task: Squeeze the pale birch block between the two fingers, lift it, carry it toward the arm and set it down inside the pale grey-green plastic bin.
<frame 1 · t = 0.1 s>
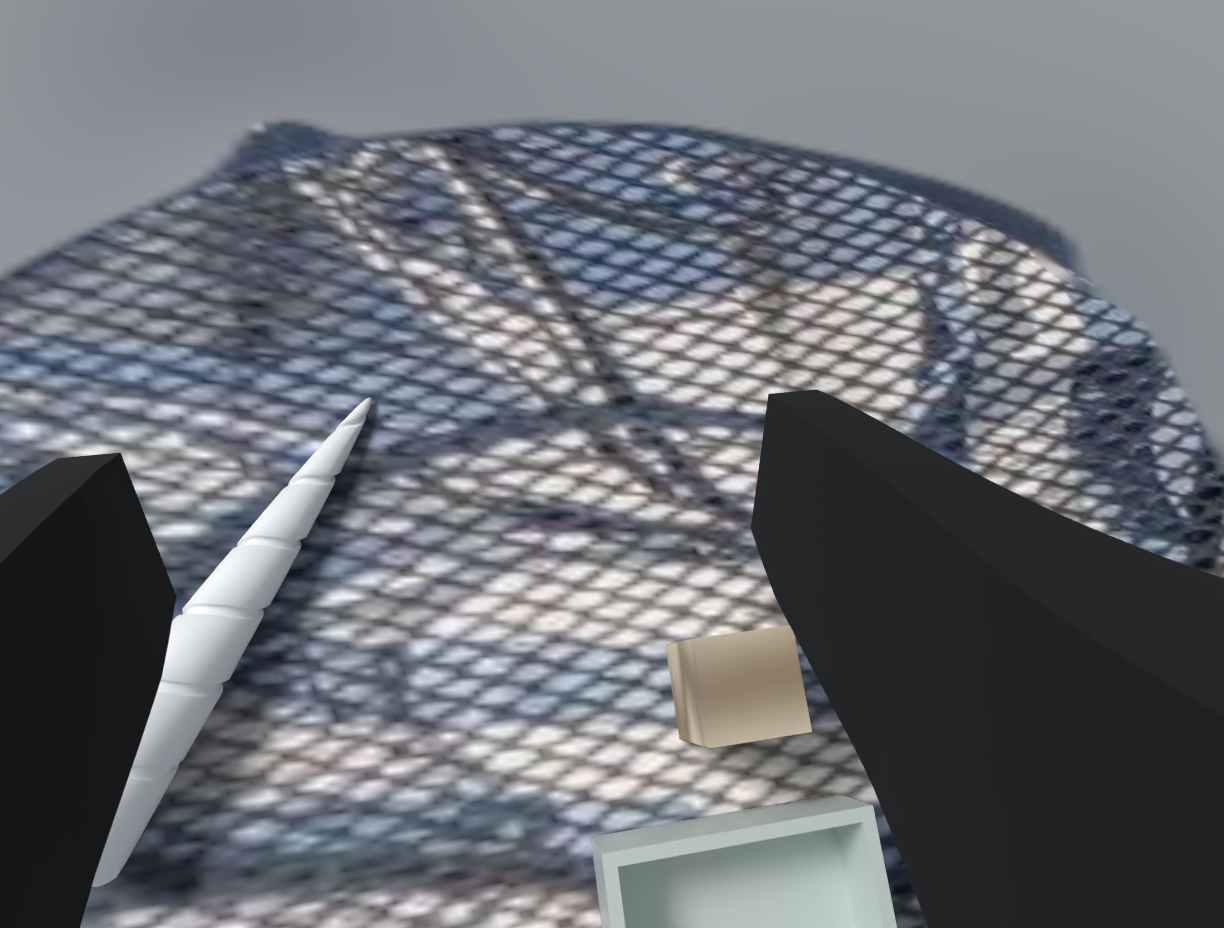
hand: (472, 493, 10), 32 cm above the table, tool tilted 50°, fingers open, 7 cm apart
birch block: (716, 684, 41), on the table
unicorn horn: (223, 622, 39), on the table
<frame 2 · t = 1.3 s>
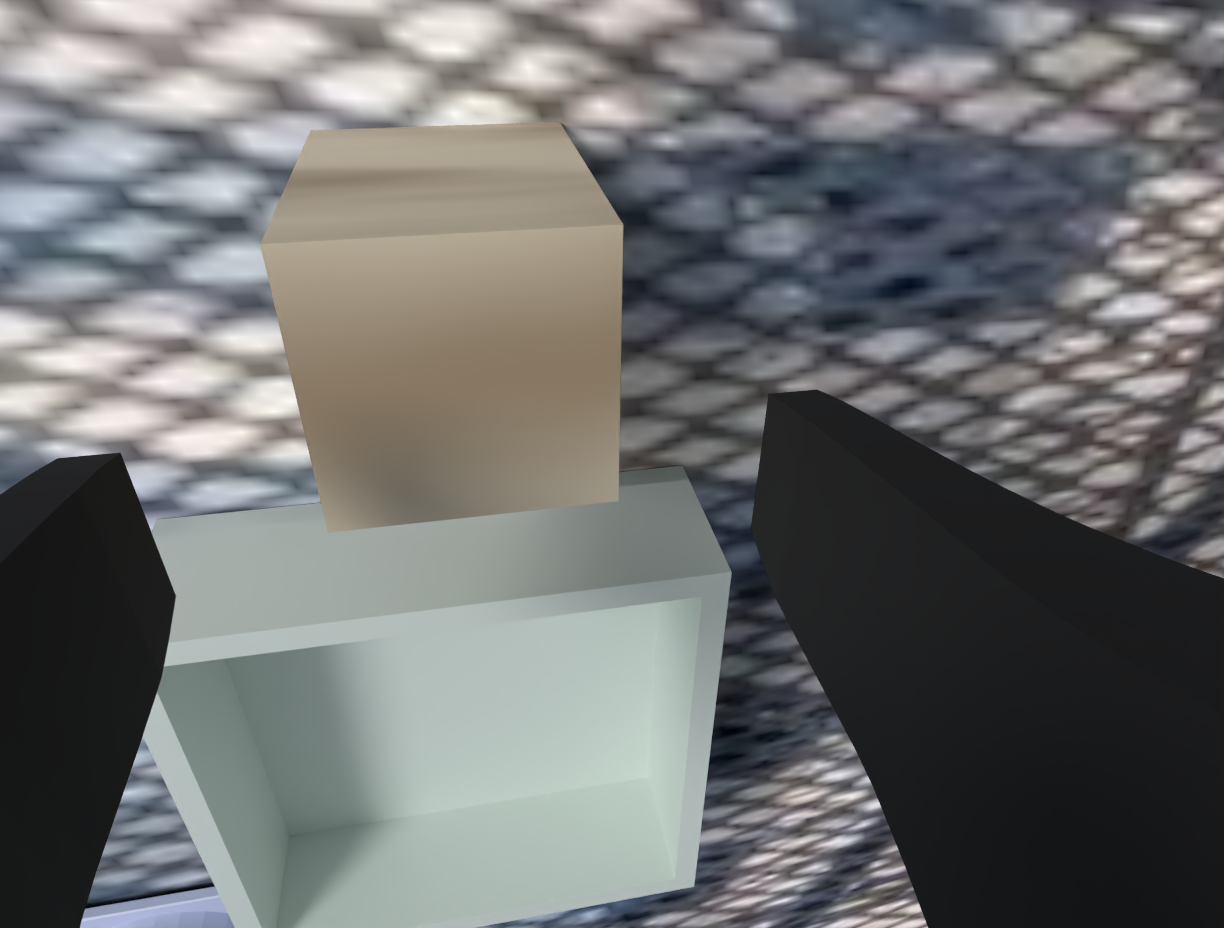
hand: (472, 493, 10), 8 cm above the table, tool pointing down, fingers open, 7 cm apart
birch block: (450, 244, 17), on the table
bin: (457, 668, 23), on the table
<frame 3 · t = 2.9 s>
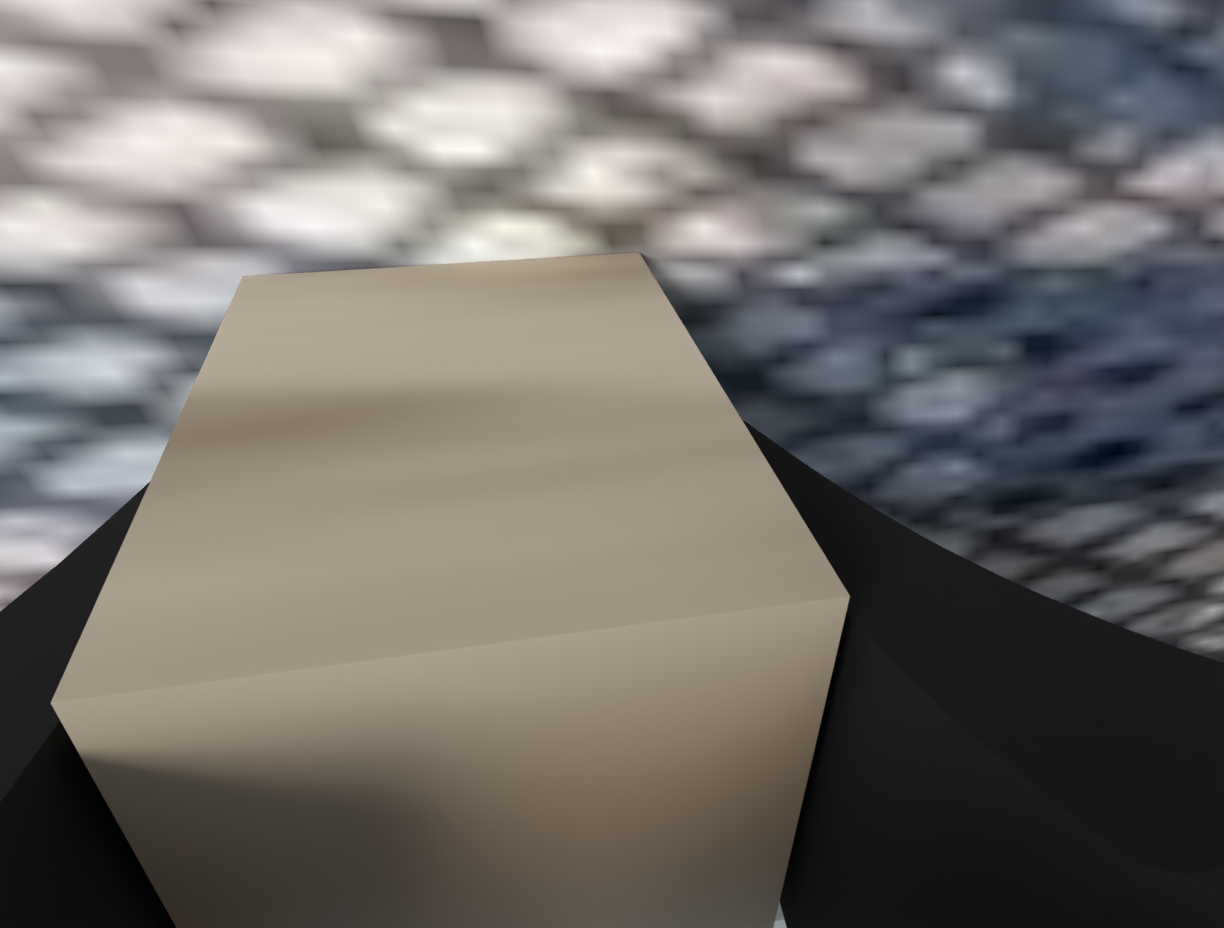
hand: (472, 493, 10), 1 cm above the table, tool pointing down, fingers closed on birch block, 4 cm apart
birch block: (466, 429, 11), on the table, touching gripper
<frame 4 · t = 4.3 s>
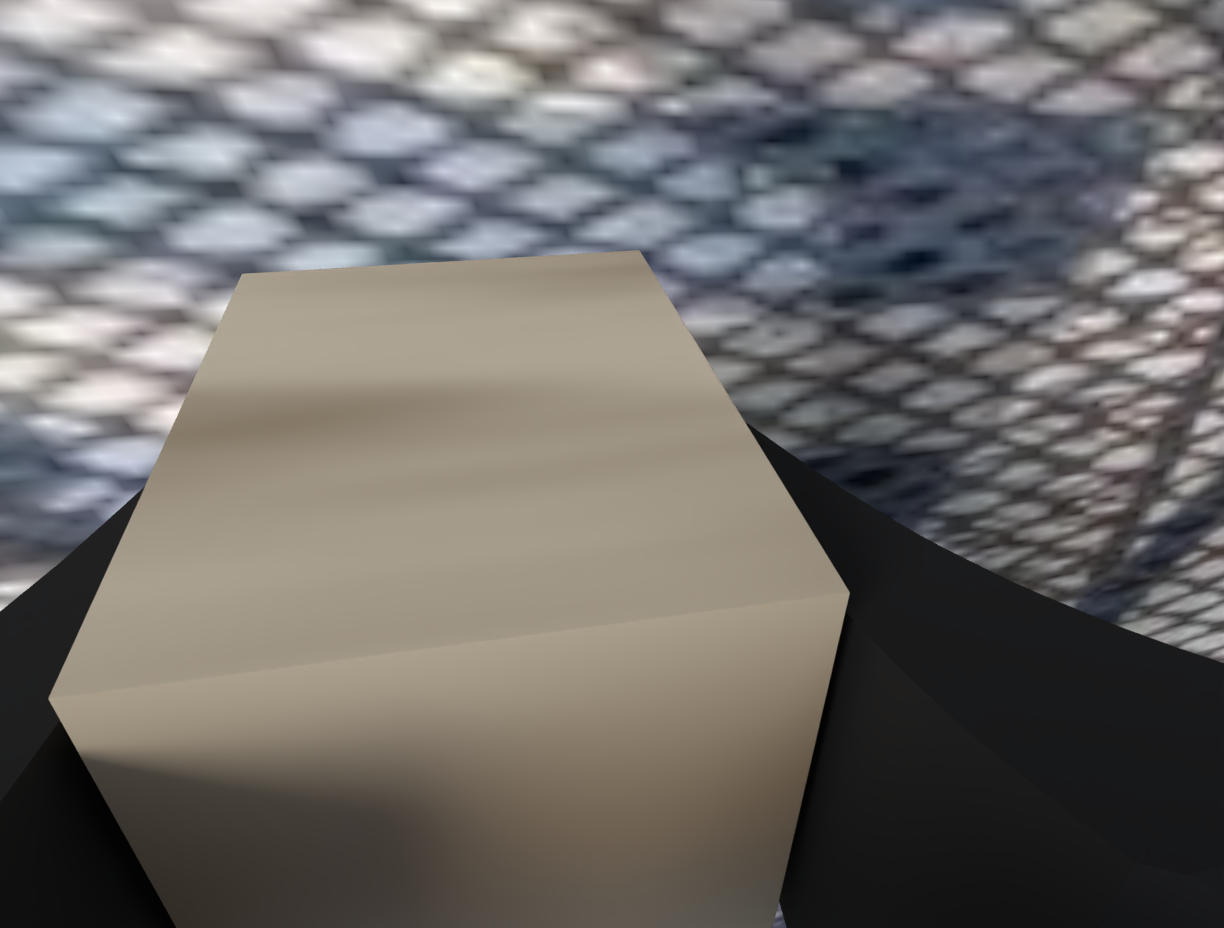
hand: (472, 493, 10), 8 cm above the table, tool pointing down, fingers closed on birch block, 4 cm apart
birch block: (465, 427, 11), point 7 cm above the table, touching gripper
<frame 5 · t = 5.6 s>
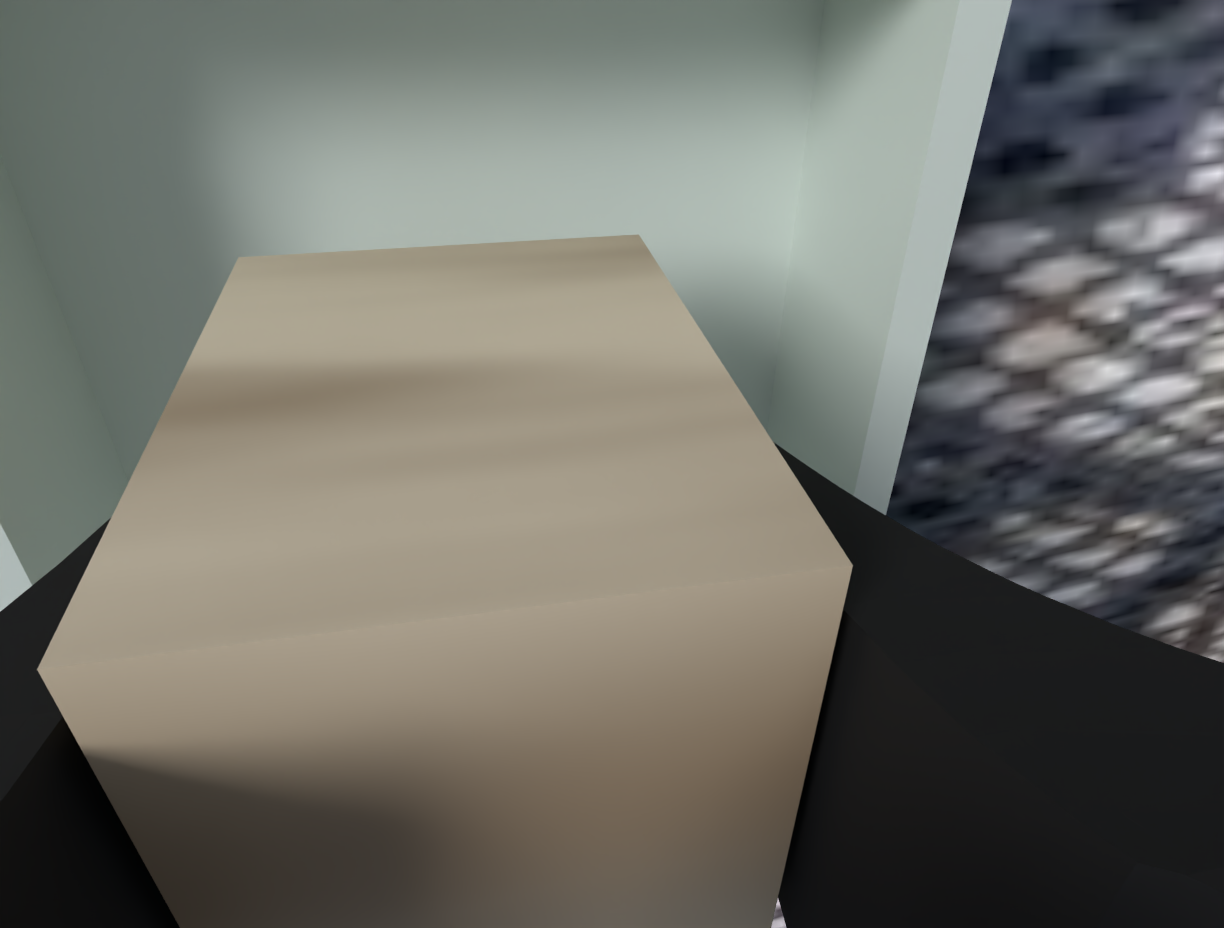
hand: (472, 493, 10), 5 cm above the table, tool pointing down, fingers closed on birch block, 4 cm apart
birch block: (464, 414, 11), point 4 cm above the table, touching gripper
bin: (454, 318, 14), on the table
when the fingers open (4 cm above the table, at t = 6.6 s): birch block drops 2 cm, resting on bin.
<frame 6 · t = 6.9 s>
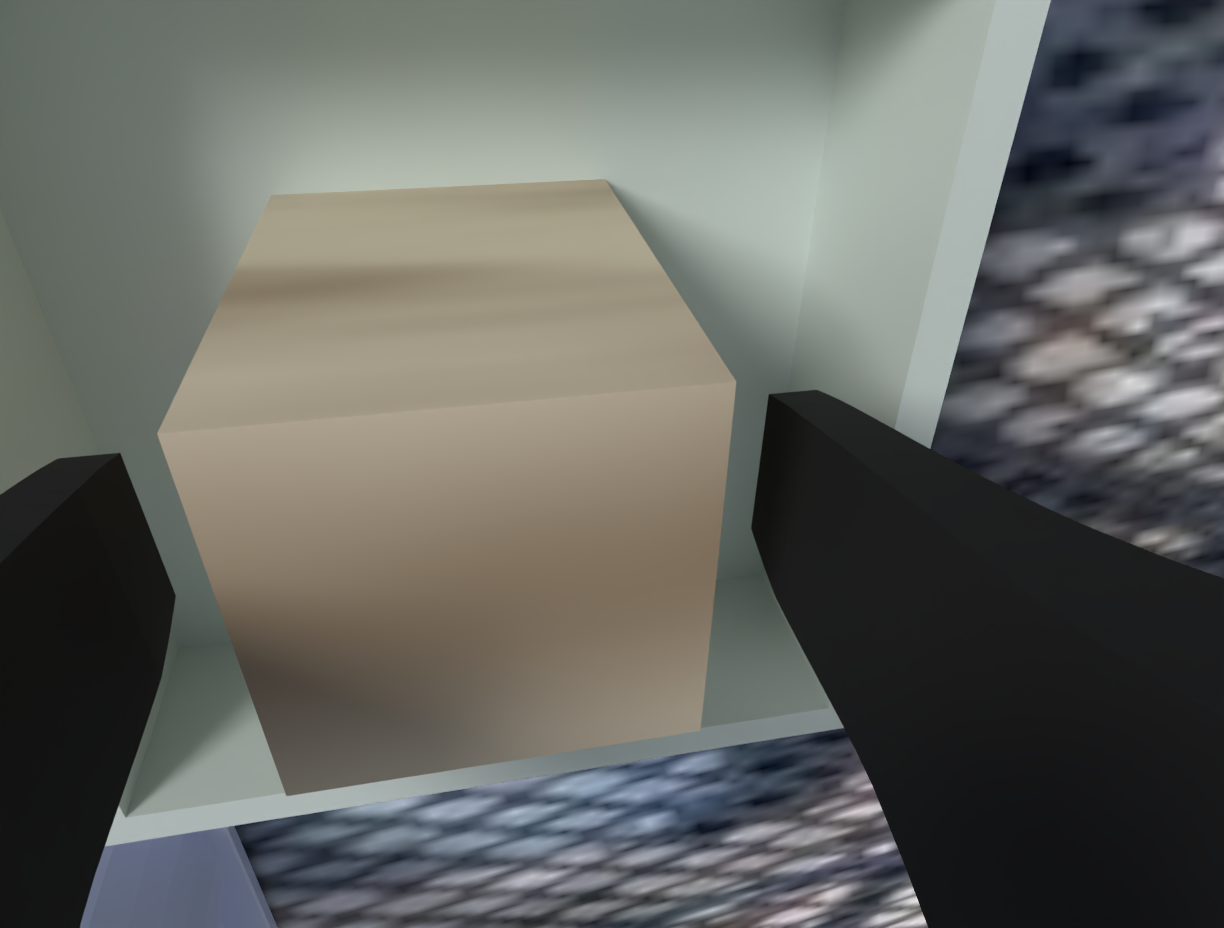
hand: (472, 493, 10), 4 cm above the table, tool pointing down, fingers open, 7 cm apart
birch block: (459, 336, 13), point 1 cm above the table, touching bin
bin: (457, 331, 13), on the table
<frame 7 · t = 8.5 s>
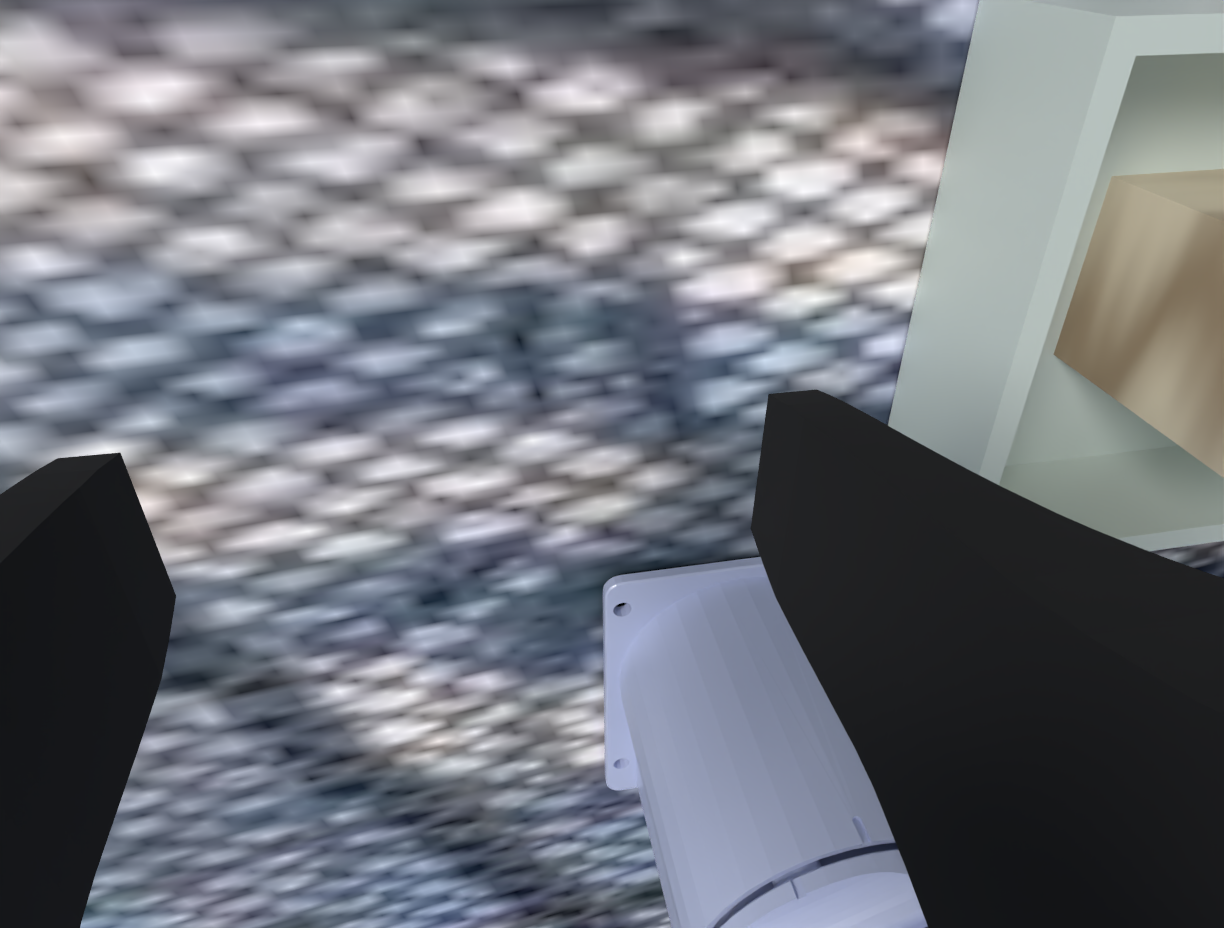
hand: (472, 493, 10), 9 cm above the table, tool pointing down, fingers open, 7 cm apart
birch block: (1162, 264, 21), point 1 cm above the table, touching bin
bin: (1142, 263, 21), on the table
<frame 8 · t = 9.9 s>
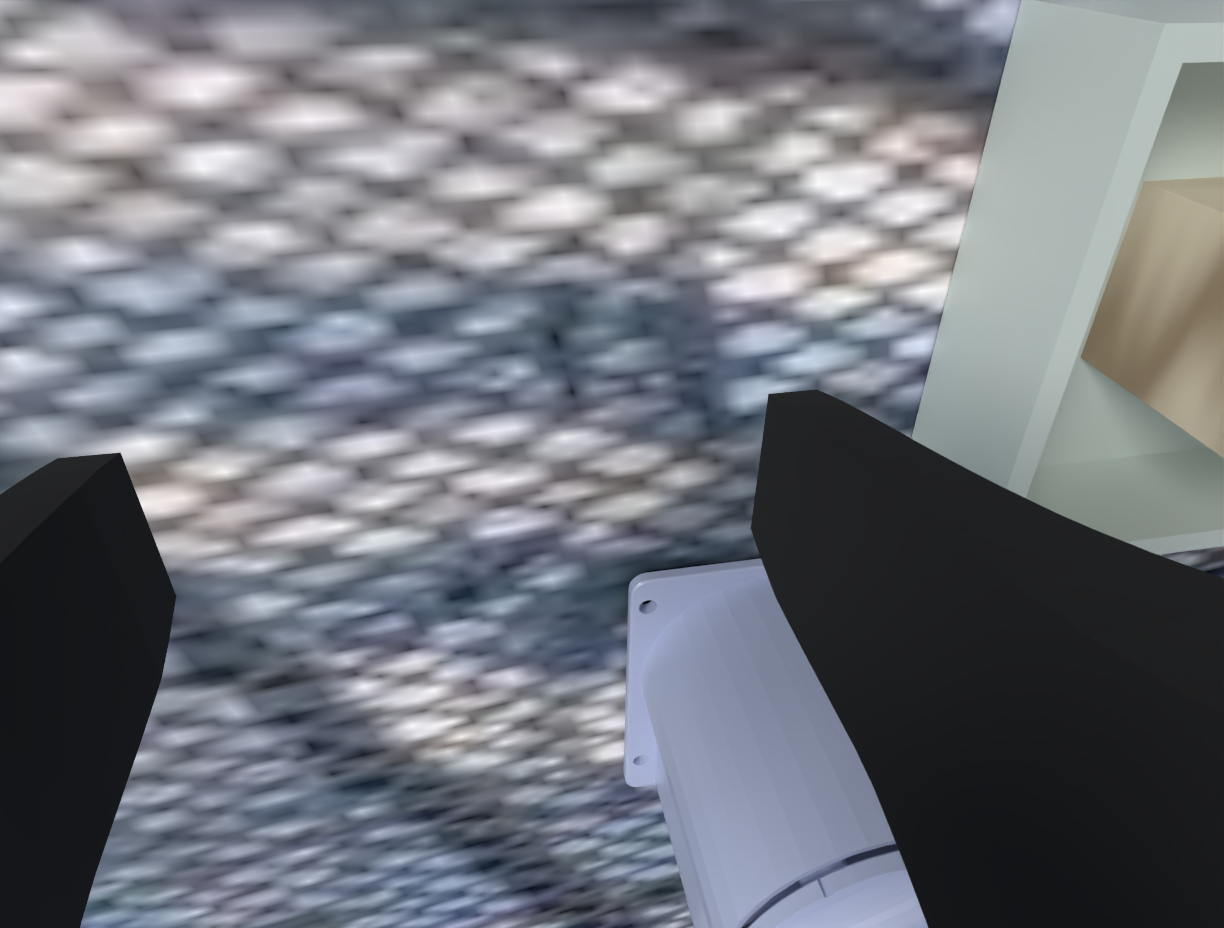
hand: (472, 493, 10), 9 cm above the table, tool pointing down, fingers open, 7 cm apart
birch block: (1190, 268, 21), point 1 cm above the table, touching bin
bin: (1169, 267, 21), on the table
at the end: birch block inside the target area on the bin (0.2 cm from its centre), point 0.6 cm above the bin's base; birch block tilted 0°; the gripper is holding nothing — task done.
